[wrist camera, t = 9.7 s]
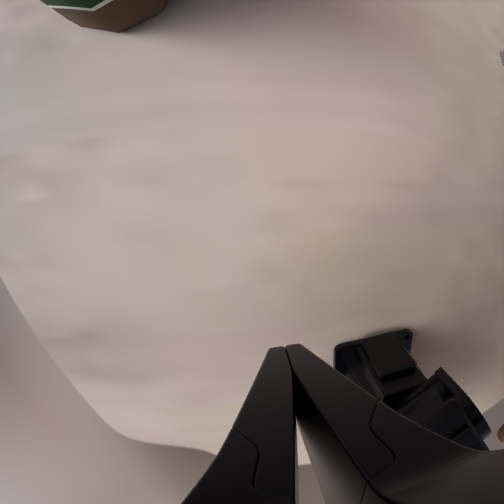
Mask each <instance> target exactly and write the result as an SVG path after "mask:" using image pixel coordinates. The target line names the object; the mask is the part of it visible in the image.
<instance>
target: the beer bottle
mask: <svg viewBox="0 0 504 504" xmlns="http://www.w3.org/2000/svg"><path fill="white" fill-rule="evenodd" d="M41 1H42V2H44V3H45V4H47V5H48V6H49V7H51V8H52V9H54V10H55V11H57V12H58V13H60V14H61V15H63V16H64V17H65V18H67V19H68V20H70V21H72V22H74V23H76V24H77V25H79V26H81V27H87V28H94V29H100V30H106V31H112V32H117V33H119V32H121V31H123V30H125V29H127V28H129V27H131V26H133V25H135V24H137V23H138V22H140V21H142V20H144V19H147V18H149V17H151V16H153V15H155V14H157V13H159V12H161V11H162V9H163V7H164V5H165V4H166V2H167V0H41Z"/></svg>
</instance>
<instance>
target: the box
mask: <svg viewBox="0 0 504 504" xmlns="http://www.w3.org/2000/svg"><path fill="white" fill-rule="evenodd" d="M500 54H501V59H502V63H503V65H504V51H500Z"/></svg>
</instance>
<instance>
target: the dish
mask: <svg viewBox="0 0 504 504" xmlns="http://www.w3.org/2000/svg"><path fill="white" fill-rule="evenodd" d="M497 435H498V438H499V440H500V441H501V442H504V424H503V425H502V427H501V428H500V429H499V431H498V433H497Z"/></svg>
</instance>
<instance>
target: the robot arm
mask: <svg viewBox="0 0 504 504" xmlns="http://www.w3.org/2000/svg"><path fill="white" fill-rule="evenodd" d="M407 334H408V335H407ZM406 335H407V336H406ZM405 336H406V337H405ZM412 337H413V334H412V332H411V331H410V330H409V329H404V330H400V331H397V332H392V333H388V334H383V335H379V336H375V337H371V338H366V339H363V340H358V341H354V342H349V343H344V344H340V345H337V346H336V347H335V348H334V365H333V367H331V366H330V365H329V364H327V363H326V362H324V361H323V360H322V359H320V358H319V357H318V356H316V355H315V354H313V353H312V352H311V351H309V350H308V349H307V348H305V347H304V346H303V345H301V344H293V345H287V346H286V347H285V348H284V347H283V346H280V347H274V348H270V349H269V350H268V352H267V354H266V356H265V359H264V361H263V363H262V365H261V367H260V370H259V372H258V374H257V376H256V378H255V380H254V382H253V385H252V387H251V389H250V391H249V393H248V395H247V397H246V399H245V402H244V404H243V406H242V408H241V410H240V412H239V414H238V416H237V418H236V420H235V422H234V424H233V426H232V429H231V430H230V432H229V434H228V436H227V438H226V440H225V442H224V444H223V445H222V447H221V449H220V451H219V453H218V454H217V456H216V457H215V459H214V460H213V462H212V463H211V465H210V466H209V468H208V469H207V471H206V472H205V473H204V475H203V476H202V477H201V479H200V480H199V481H198V482H197V484H196V485H195V486H194V488H193V489H192V490H191V492H190V493H189V494H188V495H187V497H186V498H185V499H184V501H183V502H182V503H181V504H299V489H298V487H299V486H298V453H297V428H296V420H297V424H298V427H299V430H300V433H301V435H302V438H303V441H304V444H305V447H306V450H307V452H308V455H309V458H310V461H311V464H312V466H313V469H314V472H315V475H316V477H317V480H318V483H319V486H320V489H321V492H322V494H323V497H324V500H325V503H326V504H504V449H501V450H494V451H493V450H492V451H490V450H489V449H488V447H487V446H486V444H485V443H484V441H483V440H484V439H485V438H487V437H488V436H489V435H490V434H491V430H490V427H489V426H488V424H487V422H486V421H485V419H484V417H483V416H482V414H481V413H480V411H479V410H478V408H477V407H476V406H475V404H474V403H473V402H472V400H471V399H470V398H469V397H468V395H467V394H466V393H465V392H464V391H463V390H462V389H461V388H460V387H459V386H458V385H457V384H456V382H455V381H454V380H453V379H452V378H451V377H450V376H449V375H448V374H447V373H446V372H445V371H444V370H443V369H442V368H441V367H440V368H439V369H438V370H436V371H435V374H434V375H432V376H431V377H430V378H429V379H428V380H427V378H426V377H425V376H424V374H423V373H422V372H421V370H420V369H419V368H418V366H417V362H416V361H415V360H414V358H413V357H412V356H411V355H410V350H411V343H412ZM340 350H343V351H342V352H339V351H340Z"/></svg>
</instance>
